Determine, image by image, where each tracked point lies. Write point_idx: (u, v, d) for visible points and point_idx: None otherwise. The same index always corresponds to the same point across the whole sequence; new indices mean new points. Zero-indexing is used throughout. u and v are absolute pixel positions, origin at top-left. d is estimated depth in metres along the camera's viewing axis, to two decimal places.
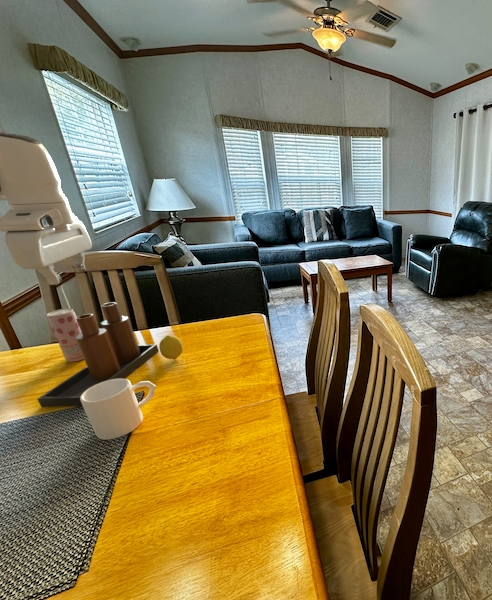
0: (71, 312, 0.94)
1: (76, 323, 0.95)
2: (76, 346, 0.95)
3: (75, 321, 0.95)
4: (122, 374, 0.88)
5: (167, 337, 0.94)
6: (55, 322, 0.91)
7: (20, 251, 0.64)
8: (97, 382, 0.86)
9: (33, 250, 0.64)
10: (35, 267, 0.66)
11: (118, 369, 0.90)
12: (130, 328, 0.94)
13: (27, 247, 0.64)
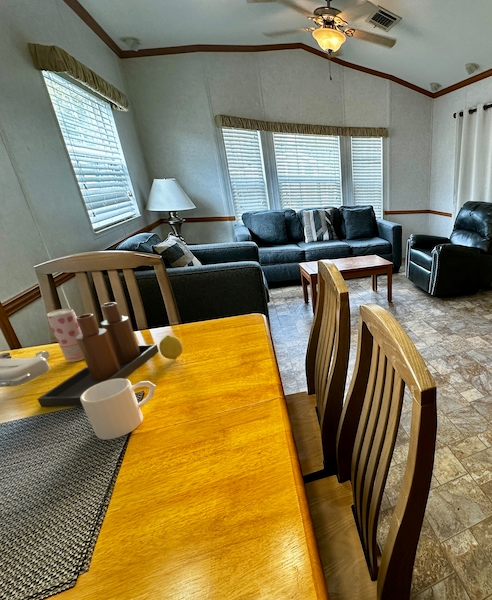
0: (71, 312, 0.94)
1: (76, 323, 0.95)
2: (76, 346, 0.95)
3: (75, 321, 0.95)
4: (122, 374, 0.88)
5: (167, 337, 0.94)
6: (55, 322, 0.91)
7: None
8: (97, 382, 0.86)
9: None
10: None
11: (118, 369, 0.90)
12: (130, 328, 0.94)
13: None
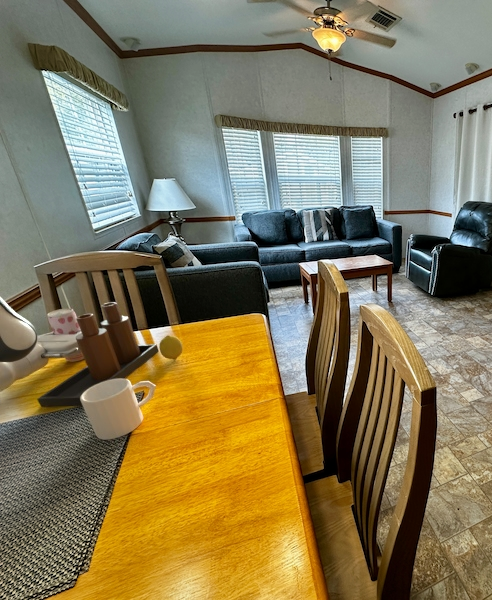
0: (71, 312, 0.94)
1: (76, 323, 0.95)
2: None
3: (75, 321, 0.95)
4: (122, 374, 0.88)
5: (167, 337, 0.94)
6: (55, 322, 0.91)
7: None
8: (97, 382, 0.86)
9: None
10: None
11: (118, 369, 0.90)
12: (130, 328, 0.94)
13: None
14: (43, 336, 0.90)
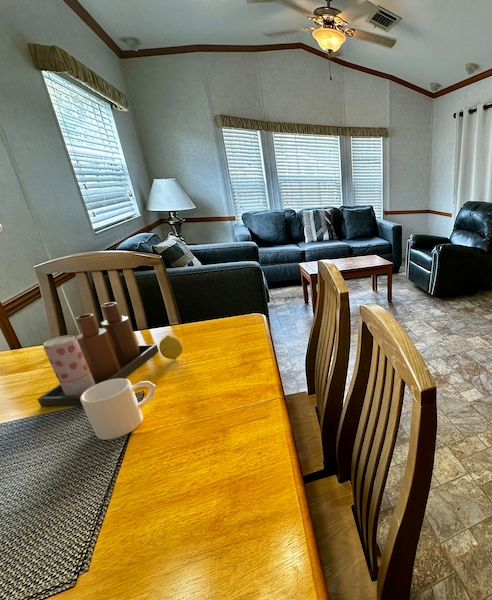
0: (73, 340, 0.77)
1: (79, 353, 0.79)
2: (79, 380, 0.79)
3: (77, 351, 0.78)
4: (122, 374, 0.88)
5: (167, 337, 0.94)
6: (53, 353, 0.75)
7: None
8: (97, 382, 0.86)
9: None
10: None
11: (118, 369, 0.90)
12: (130, 328, 0.94)
13: None
14: None
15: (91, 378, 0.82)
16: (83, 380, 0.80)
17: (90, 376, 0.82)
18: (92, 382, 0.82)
